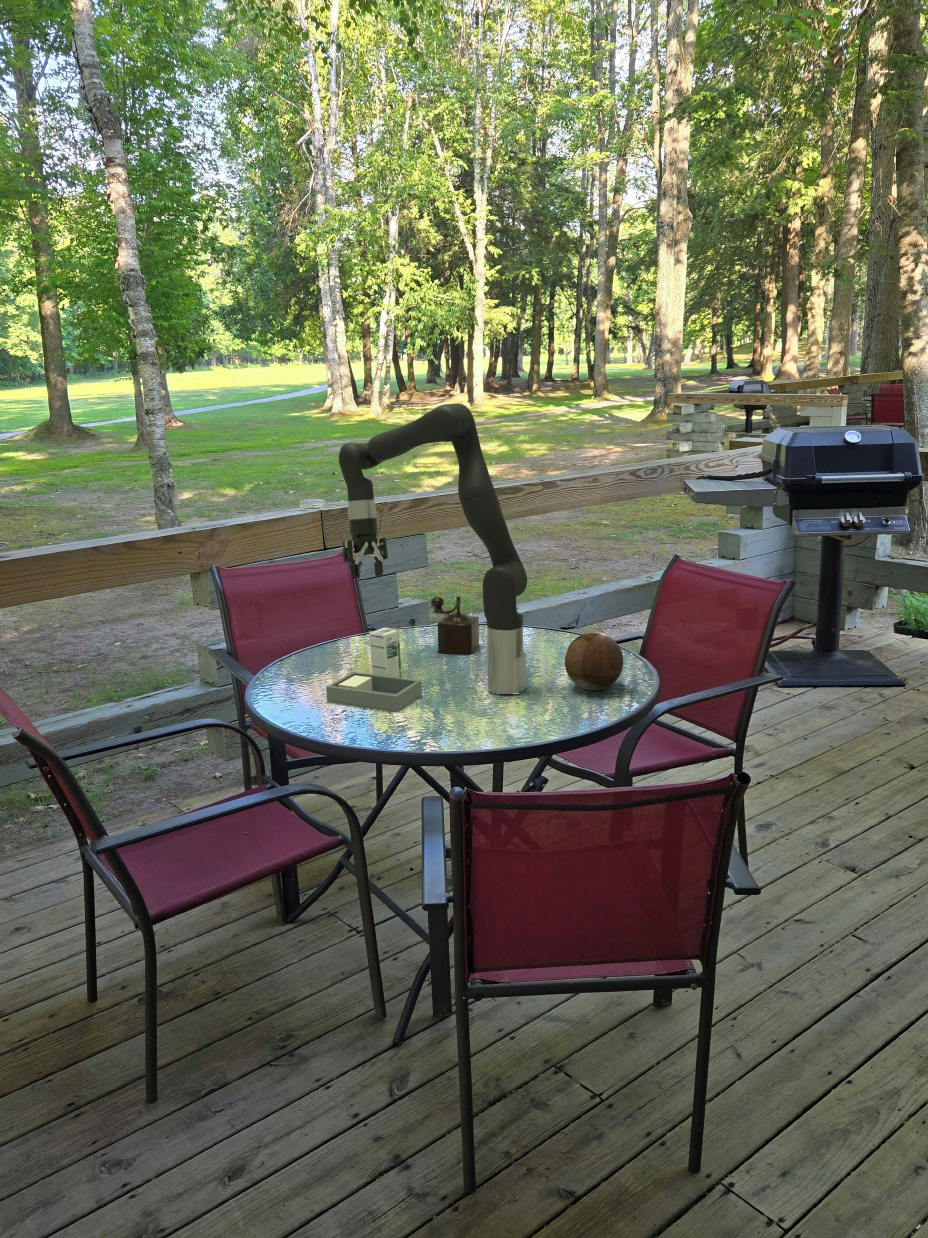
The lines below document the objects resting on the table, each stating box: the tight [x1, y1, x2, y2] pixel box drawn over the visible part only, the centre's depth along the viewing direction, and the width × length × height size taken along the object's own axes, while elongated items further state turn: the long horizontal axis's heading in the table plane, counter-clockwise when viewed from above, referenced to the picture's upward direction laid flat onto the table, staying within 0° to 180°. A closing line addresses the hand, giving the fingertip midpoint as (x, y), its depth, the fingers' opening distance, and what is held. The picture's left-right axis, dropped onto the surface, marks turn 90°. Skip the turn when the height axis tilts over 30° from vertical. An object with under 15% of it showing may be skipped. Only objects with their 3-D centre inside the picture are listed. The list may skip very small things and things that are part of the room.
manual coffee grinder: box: [430, 595, 480, 656], centre depth 268 cm, size 16×11×18 cm
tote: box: [325, 671, 423, 713], centre depth 227 cm, size 20×13×5 cm, turn 65°
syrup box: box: [369, 627, 403, 678], centre depth 241 cm, size 6×6×14 cm
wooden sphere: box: [564, 631, 624, 691], centre depth 233 cm, size 15×15×15 cm
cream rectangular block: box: [338, 675, 372, 691], centre depth 229 cm, size 5×8×4 cm, turn 155°
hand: (367, 577), depth 247 cm, fingers open, 8 cm apart
